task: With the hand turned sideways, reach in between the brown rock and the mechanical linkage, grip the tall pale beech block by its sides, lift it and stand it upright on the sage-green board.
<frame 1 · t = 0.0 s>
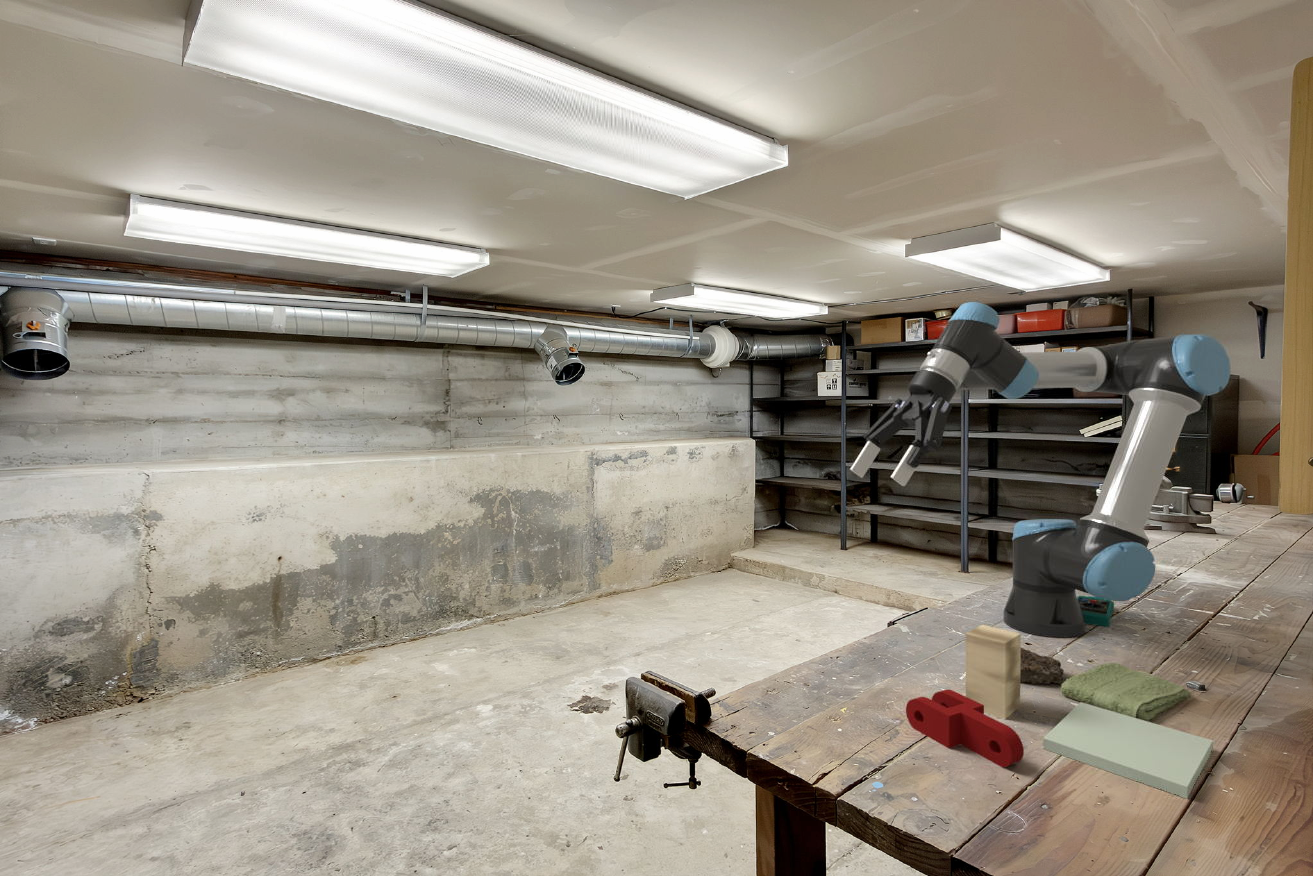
hand: (875, 477, 116), 36 cm above the table, tool tilted 35°, fingers open, 13 cm apart
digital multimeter: (1092, 617, 147), on the table
brown rock: (1024, 677, 116), on the table
sage board: (1127, 749, 91), on the table
beech block: (992, 706, 105), on the table
washcloth: (1123, 699, 107), on the table
mechanical linkage: (966, 745, 94), on the table
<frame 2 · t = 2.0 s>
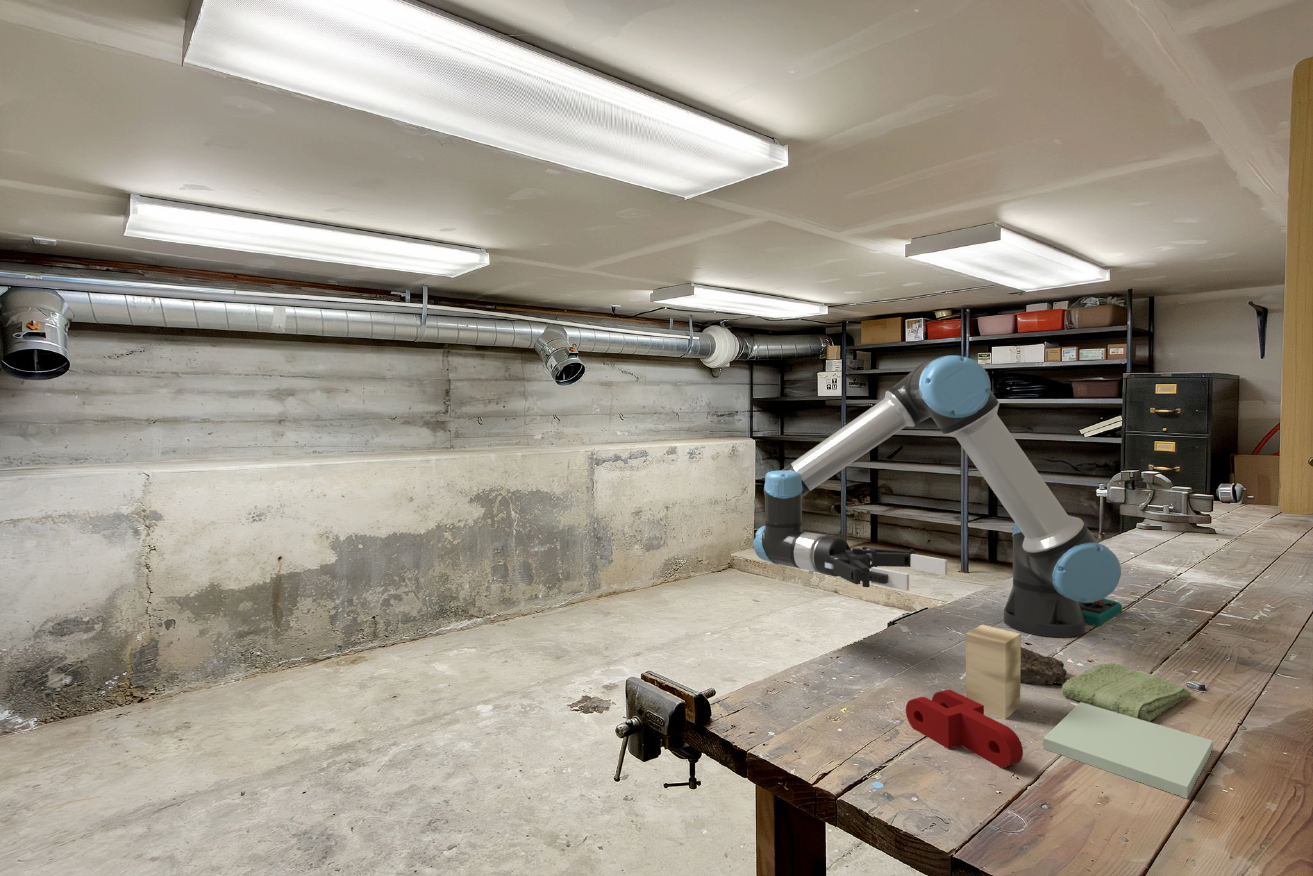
hand: (928, 574, 112), 20 cm above the table, tool horizontal, fingers open, 13 cm apart
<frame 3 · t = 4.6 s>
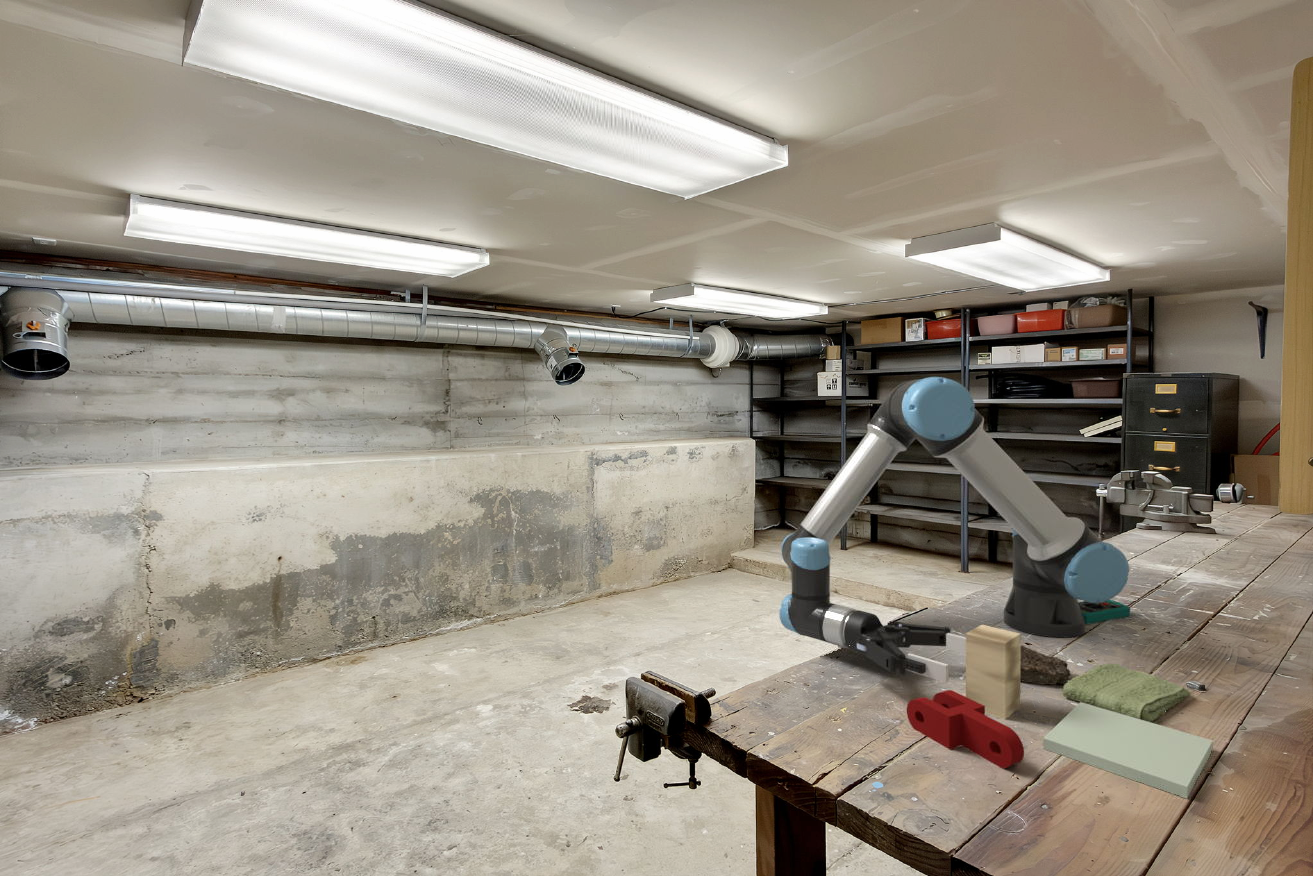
hand: (967, 661, 107), 6 cm above the table, tool horizontal, fingers open, 13 cm apart
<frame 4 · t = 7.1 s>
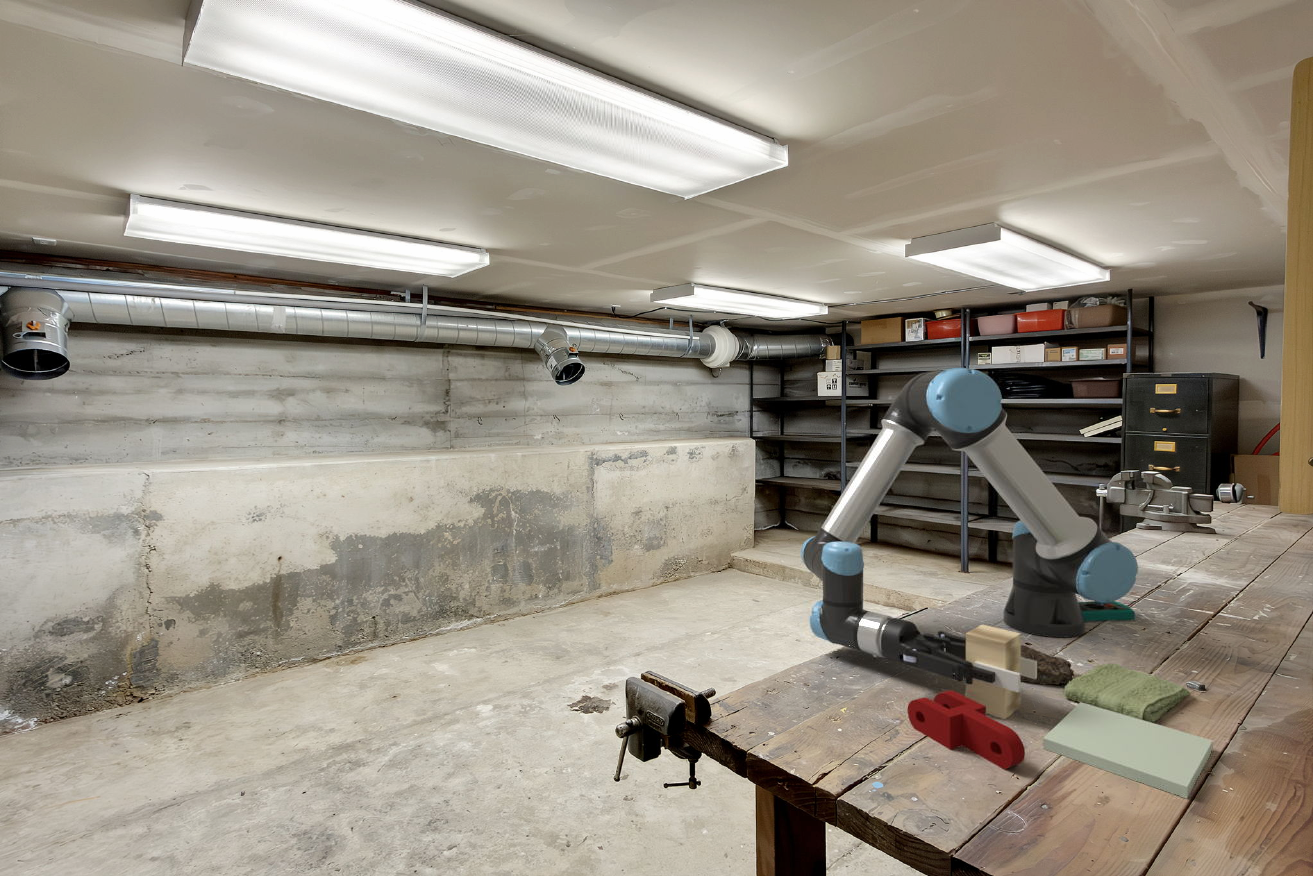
hand: (1027, 676, 100), 7 cm above the table, tool horizontal, fingers closed on beech block, 6 cm apart
beech block: (992, 706, 105), on the table, touching gripper
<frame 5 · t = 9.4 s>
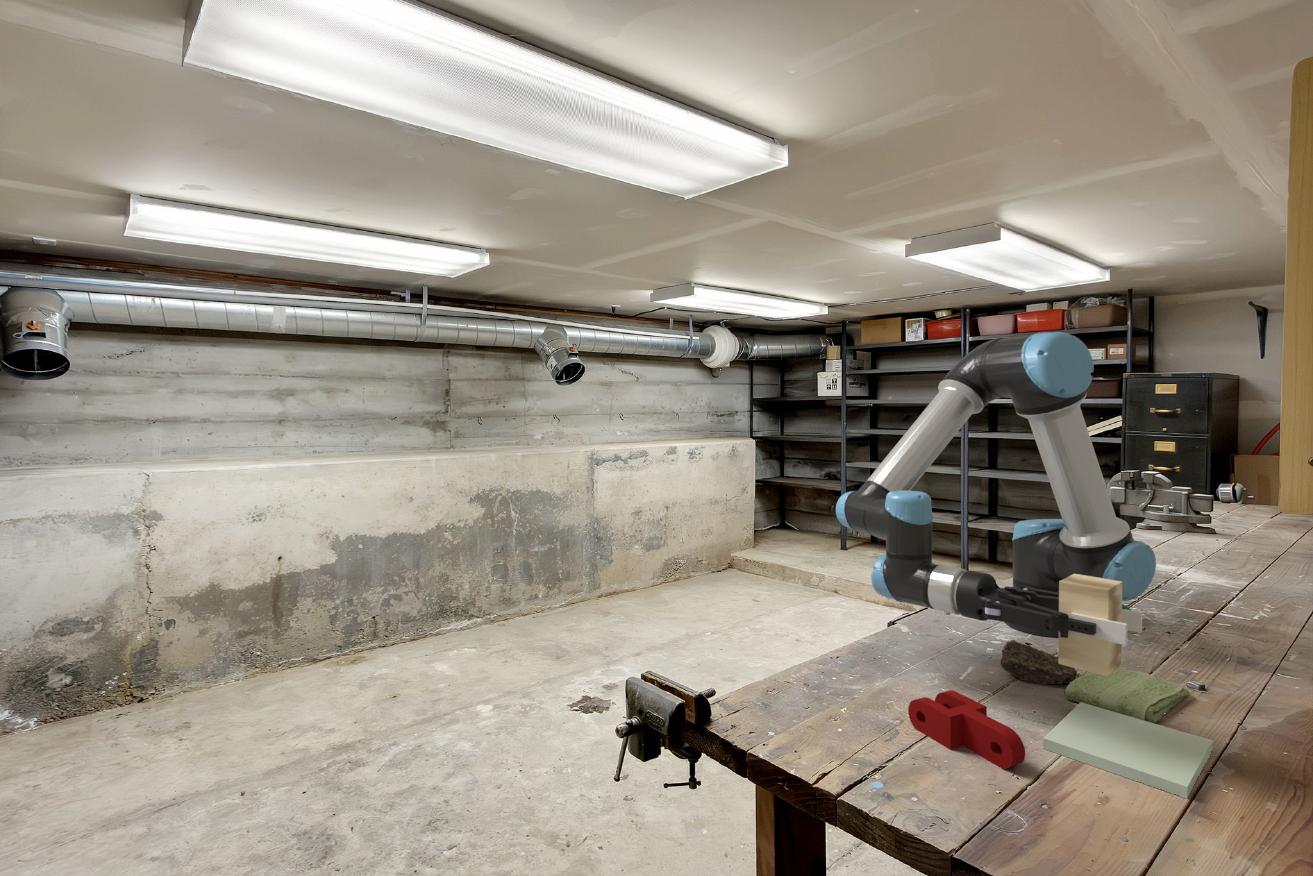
hand: (1133, 628, 89), 18 cm above the table, tool horizontal, fingers closed on beech block, 6 cm apart
beech block: (1089, 664, 93), point 11 cm above the table, touching gripper
when the fingers open (9 cm above the table, at t = 12.0 s): beech block drops 1 cm, resting on sage board.
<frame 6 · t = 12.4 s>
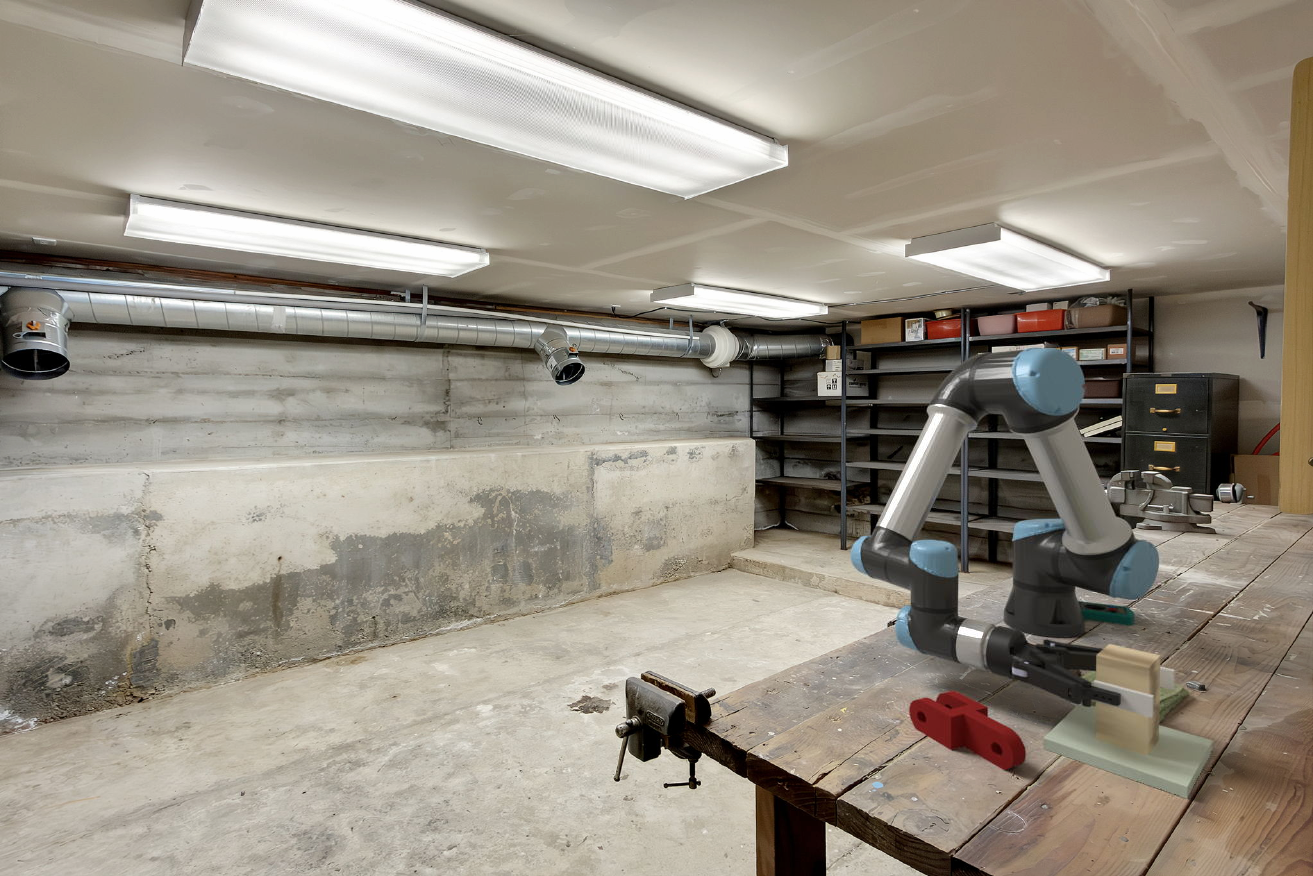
hand: (1164, 692, 87), 9 cm above the table, tool horizontal, fingers open, 11 cm apart
beech block: (1127, 739, 91), point 1 cm above the table, touching sage board
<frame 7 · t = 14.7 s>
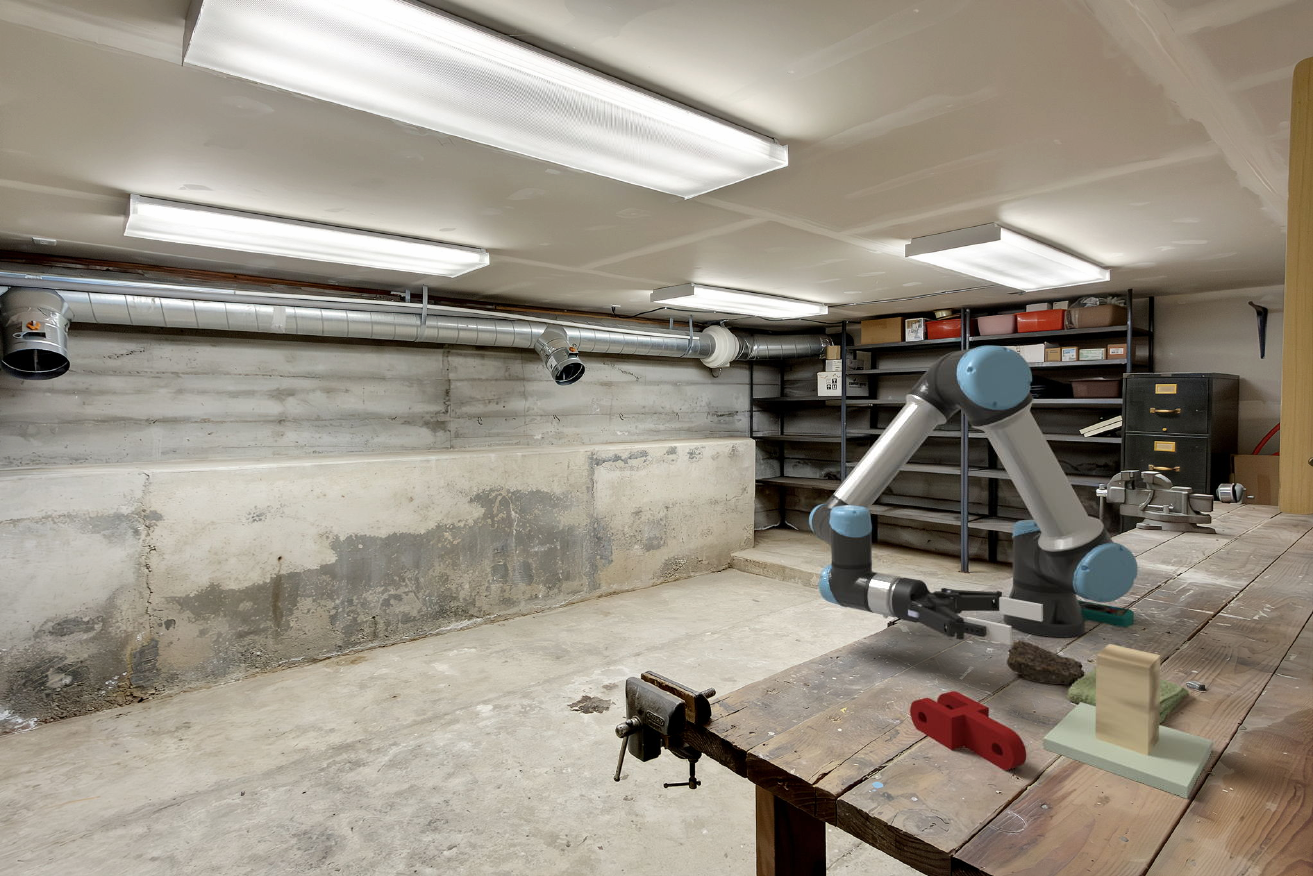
hand: (1027, 623, 102), 14 cm above the table, tool horizontal, fingers open, 13 cm apart
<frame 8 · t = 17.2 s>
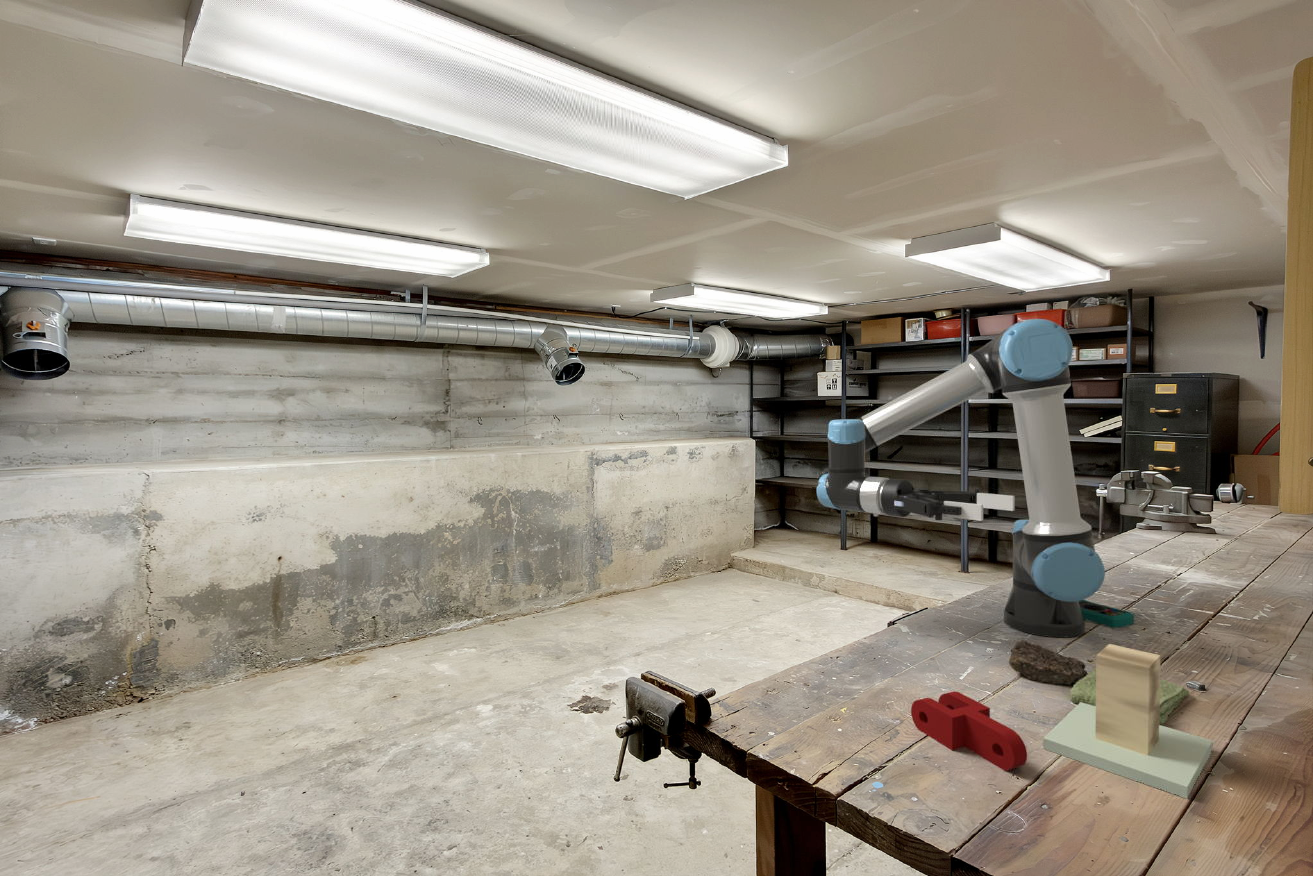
hand: (998, 507, 116), 30 cm above the table, tool horizontal, fingers open, 13 cm apart
at the end: beech block inside the target area on the sage board (0.1 cm from its centre), point 1.5 cm above the sage board's base; beech block tilted 0°; the gripper is holding nothing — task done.
